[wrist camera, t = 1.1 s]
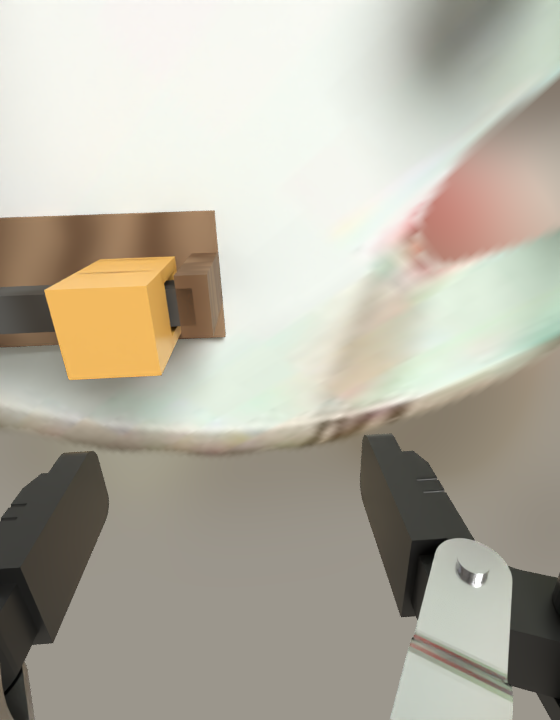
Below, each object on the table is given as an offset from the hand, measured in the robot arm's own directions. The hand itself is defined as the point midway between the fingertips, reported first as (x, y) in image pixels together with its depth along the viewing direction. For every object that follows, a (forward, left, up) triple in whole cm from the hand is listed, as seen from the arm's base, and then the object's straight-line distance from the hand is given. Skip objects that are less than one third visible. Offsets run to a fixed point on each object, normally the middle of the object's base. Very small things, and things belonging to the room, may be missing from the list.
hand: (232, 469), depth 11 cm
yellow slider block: (-5, -5, -19) cm, 21 cm away
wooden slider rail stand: (-9, -9, -24) cm, 27 cm away
